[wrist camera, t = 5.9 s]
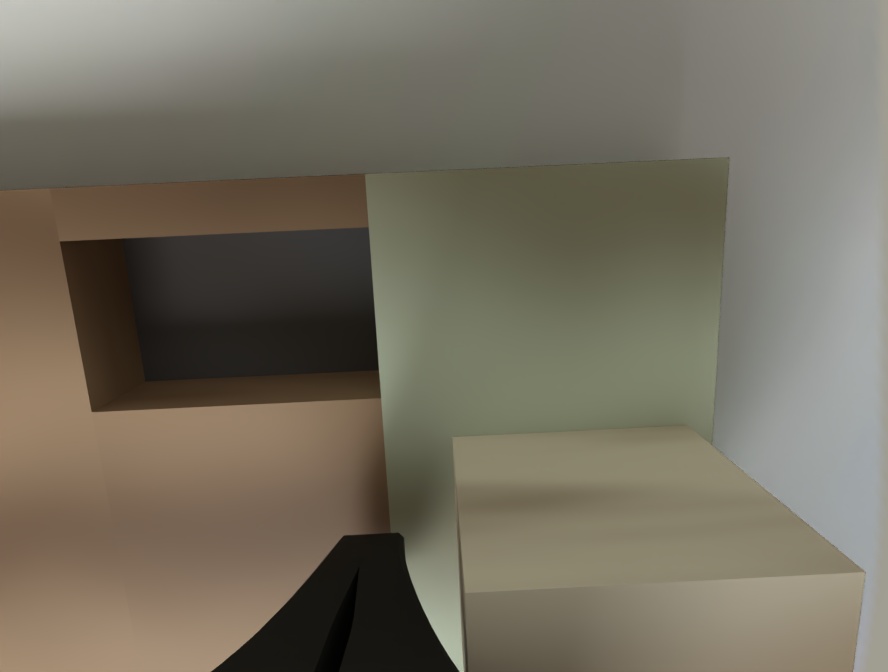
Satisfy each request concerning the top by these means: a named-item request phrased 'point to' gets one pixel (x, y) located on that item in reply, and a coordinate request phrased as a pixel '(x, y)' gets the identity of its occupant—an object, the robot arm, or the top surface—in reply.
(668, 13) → the top surface
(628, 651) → the cream block
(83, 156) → the top surface
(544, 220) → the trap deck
